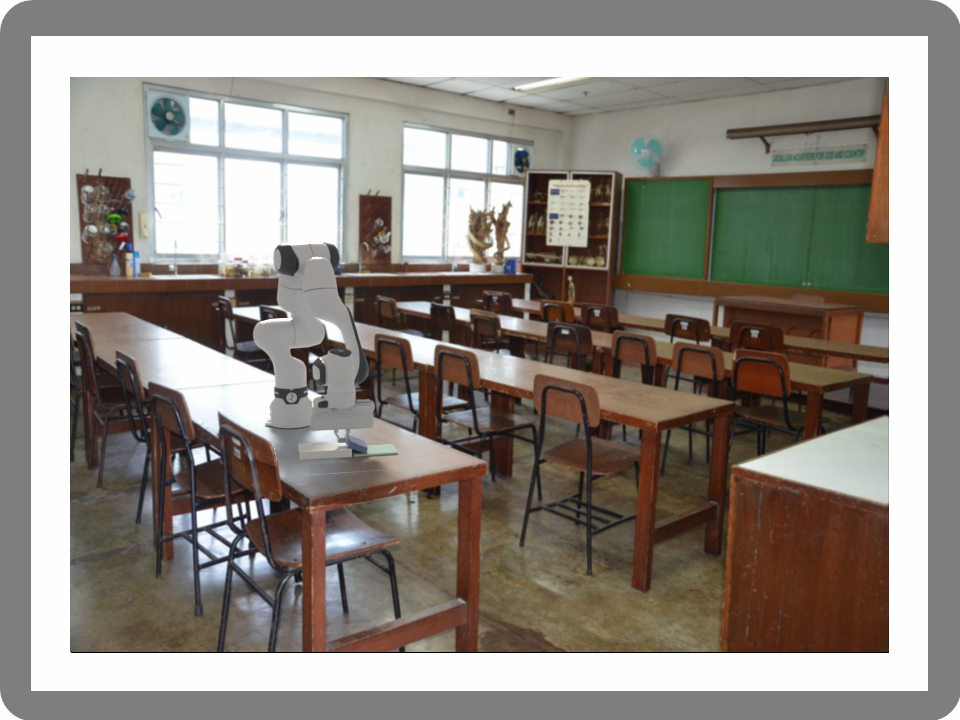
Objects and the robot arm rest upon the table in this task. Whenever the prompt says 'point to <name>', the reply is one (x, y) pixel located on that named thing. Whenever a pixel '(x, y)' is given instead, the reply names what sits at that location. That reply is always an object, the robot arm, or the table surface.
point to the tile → (356, 444)
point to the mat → (376, 450)
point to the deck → (323, 450)
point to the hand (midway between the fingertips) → (342, 442)
